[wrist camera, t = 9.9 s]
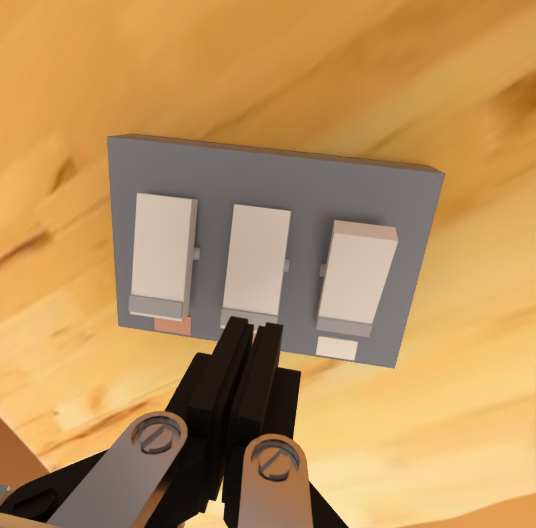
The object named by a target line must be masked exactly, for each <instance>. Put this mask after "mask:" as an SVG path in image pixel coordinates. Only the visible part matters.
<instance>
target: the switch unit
mask: <svg viewBox="0 0 536 528" xmlns="http://www.w3.org/2000/svg"><path fill="white" fill-rule="evenodd" d="M107 144H108V160H109V177H110V193H111V210H112V226H113V243H114V259H115V276H116V292H117V309H118V325H119V326H121V327H128V328H134V329H141V330H147V331H154V332H160V333H167V334H173V335H180V336H186V337H193V338H199V339H206V340H213V341H219V339H220V337H221V335H222V333H223V331H224V328H220V327H221V325H220V320H221V311H222V308H223V300H224V291H225V282H226V273H227V264H228V255H229V246H230V237H231V228H232V219H233V210H234V204H237V205H245V206H254V207H262V208H270V209H278V210H286V211H291V212H292V213H291V221H290V228H289V236H288V244H287V252H286V259H285V267H284V275H283V283H282V290H281V298H280V306H279V314H278V321H277V324H281V325H284V326H283V334H282V341H281V348H280V351H284V352H291V353H297V354H304V355H311V356H317V357H324V358H330V359H337V360H343V361H350V362H356V363H363V364H369V365H376V366H382V367H389V368H395V365H396V361H397V357H398V353H399V349H400V346H401V342H402V338H403V334H404V330H405V326H406V322H407V319H408V315H409V311H410V307H411V303H412V299H413V295H414V292H415V288H416V284H417V280H418V276H419V272H420V268H421V265H422V261H423V257H424V253H425V249H426V245H427V241H428V238H429V234H430V230H431V226H432V222H433V218H434V214H435V211H436V207H437V203H438V199H439V195H440V191H441V187H442V184H443V180H444V176H445V173H443V172H441V171H439V170H437V169H435V168H433V167H431V166H424V165H415V164H406V163H397V162H387V161H378V160H369V159H360V158H351V157H341V156H332V155H323V154H314V153H305V152H295V151H286V150H277V149H268V148H258V147H249V146H240V145H231V144H222V143H212V142H203V141H194V140H185V139H175V138H166V137H157V136H148V135H139V134H126V135H117V136H108V137H107ZM137 193H148V194H156V195H164V196H172V197H180V198H189V199H197V200H198V206H197V218H196V230H195V242H194V254H193V265H192V277H191V289H190V301H189V313H188V316H187V317H186V318H185V319H184V320H183V321H182V322H181V321H174V320H168V319H161V318H154V317H148V316H141V315H134V314H130V311H129V296H130V295H131V290H132V272H133V255H134V237H135V220H136V202H137ZM334 220H339V221H347V222H356V223H364V224H372V225H380V226H388V227H396V232H397V237H398V244H397V247H396V250H395V253H394V256H393V259H392V263H391V266H390V269H389V272H388V275H387V278H386V281H385V285H384V288H383V291H382V294H381V297H380V300H379V303H378V307H377V310H376V313H375V316H374V319H373V322H372V329H371V332H370V336H369V337H363V336H356V335H349V334H342V333H336V332H329V331H322V330H316V321H317V312H318V306H319V301H320V295H321V290H322V285H323V279H324V274H325V268H326V263H327V258H328V252H329V247H330V241H331V236H332V231H333V225H334ZM255 336H256V333H253V341H254V338H255ZM252 344H253V342H252Z"/></svg>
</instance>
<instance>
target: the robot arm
mask: <svg viewBox="0 0 536 528" xmlns="http://www.w3.org/2000/svg"><path fill="white" fill-rule="evenodd" d="M283 326H284V325H281V324H275V323H269V322H266V325H265V326H260V325H259V327H258V330H257V333H256V336H255V338H254V341H253V333H254V324H248V319H247V318H241V317H235V316H231V317H230V318H229V320H228V322H227V325H226V327H225V329H224V331H223V333H222V335H221V337H220V339H219V341H218V343H217V345H216V347H215V349H214V351H213V353H212V355H210V354H205V353H199V352H198V353H197V354H196V355H195V356H194V358H193V360H192V362H191V364H190V366H189V367H188V369H187V371H186V373H185V375H184V377H183V378H182V380H181V382H180V384H179V386H178V388H177V389H176V391H175V393H174V395H173V397H172V398H171V400H170V402H169V404H168V406H167V408H166V409H165V411H155V412H151V413H147V414H144V415H142V416H141V417H139V418H137V419H136V420H135V421H133V422H132V423H131V424H130V425H129V426H128V427H127V429H126V430H125V431H124V432H123V433H122V434H121V436H120V437H119V438H118V439H117V440H116V442H115V443H114V444H113V445H112V446H111V447H110V449H108V450H105V451H103V452H100V453H98V454H96V455H93V456H91V457H88V458H86V459H84V460H81V461H79V462H76V463H74V464H71V465H69V466H67V467H64V468H62V469H59V470H57V471H55V472H52V473H50V474H47V475H45V476H43V477H40V478H38V479H35V480H33V481H31V482H29V483H27V484H25V485H23V486H21V487H20V488H18V489H17V490H10V487H9V485H0V528H184V526H185V521H186V520H188V519H190V518H192V517H193V516H195V515H197V514H198V513H199V512H201V513H205V510H206V507H207V504H208V501H209V500H213V501H216V499H217V496H218V493H219V489H220V486H221V483H222V479H223V476H224V479H223V491H222V503H225V508H224V519H223V520H224V521H225V523H226V525H227V526H228V528H349V527H348V526H347V525H346V524H345V523H344V522H343V520H342V519H341V518H340V517H339V516H338V514H337V513H336V512H335V511H334V510H333V509H332V507H331V506H330V505H329V504H328V503H327V501H326V500H325V499H324V498H323V497H322V496H321V494H320V493H319V492H318V491H317V490H316V488H315V487H314V486H313V485H312V484H311V483H310V481H309V479H308V469H307V461H306V457H305V453H304V452H303V450H302V449H301V447H300V446H299V445H298V444H297V443H296V442H295V441H293V433H294V425H295V417H296V409H297V401H298V393H299V385H300V377H301V371H296V370H291V369H285V368H280V367H278V363H279V356H280V348H281V341H282V334H283ZM252 342H253V344H252Z"/></svg>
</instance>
